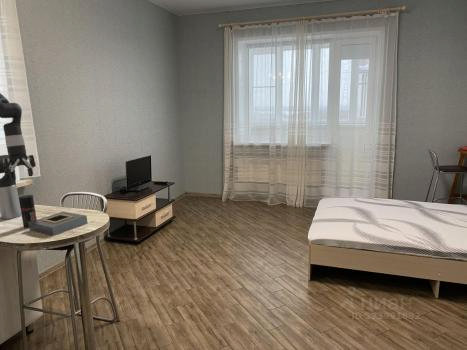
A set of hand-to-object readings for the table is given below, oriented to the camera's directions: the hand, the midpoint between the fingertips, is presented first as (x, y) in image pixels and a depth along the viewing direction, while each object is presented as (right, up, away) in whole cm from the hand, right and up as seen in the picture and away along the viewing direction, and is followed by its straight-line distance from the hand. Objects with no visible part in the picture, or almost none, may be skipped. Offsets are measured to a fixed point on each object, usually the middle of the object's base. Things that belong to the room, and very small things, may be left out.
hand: (22, 177), depth 169 cm
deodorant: (+4, -24, 0) cm, 24 cm away
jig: (+20, -24, -3) cm, 31 cm away
